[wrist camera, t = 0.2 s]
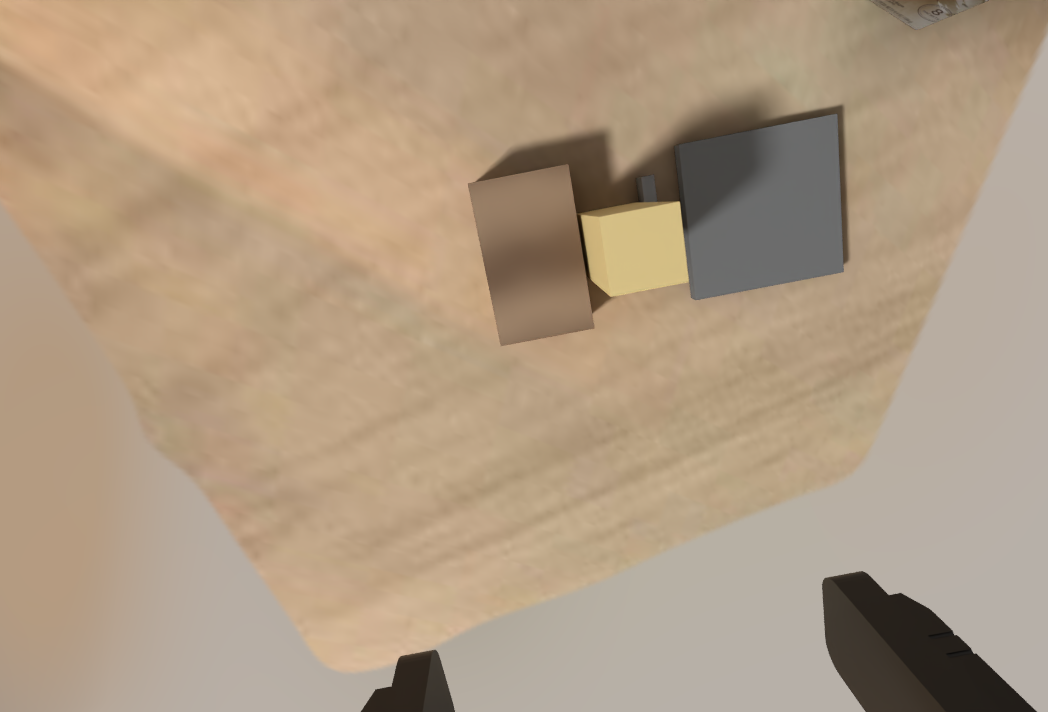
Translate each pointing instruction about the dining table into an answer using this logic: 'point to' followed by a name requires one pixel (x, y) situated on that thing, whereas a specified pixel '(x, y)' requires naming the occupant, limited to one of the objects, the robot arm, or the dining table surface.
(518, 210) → the block
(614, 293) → the pale yellow rectangular prism
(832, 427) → the dining table surface
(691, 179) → the mat
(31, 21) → the dining table surface
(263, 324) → the dining table surface
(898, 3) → the coffee box
